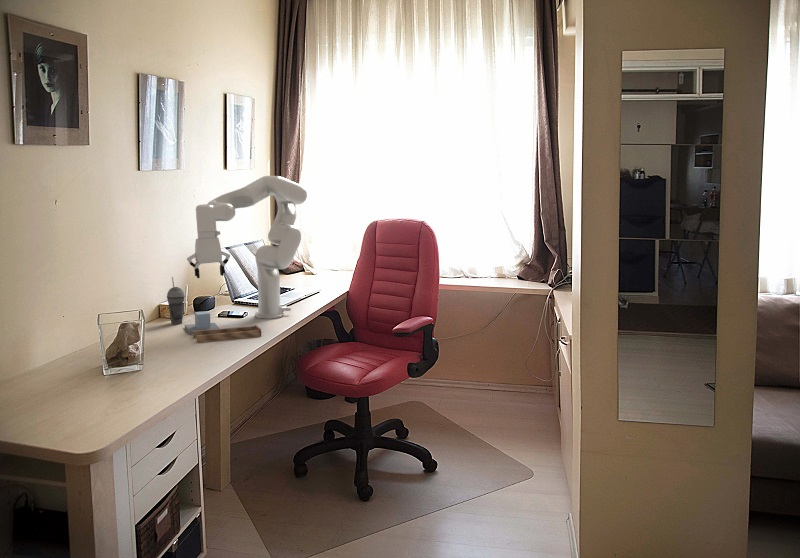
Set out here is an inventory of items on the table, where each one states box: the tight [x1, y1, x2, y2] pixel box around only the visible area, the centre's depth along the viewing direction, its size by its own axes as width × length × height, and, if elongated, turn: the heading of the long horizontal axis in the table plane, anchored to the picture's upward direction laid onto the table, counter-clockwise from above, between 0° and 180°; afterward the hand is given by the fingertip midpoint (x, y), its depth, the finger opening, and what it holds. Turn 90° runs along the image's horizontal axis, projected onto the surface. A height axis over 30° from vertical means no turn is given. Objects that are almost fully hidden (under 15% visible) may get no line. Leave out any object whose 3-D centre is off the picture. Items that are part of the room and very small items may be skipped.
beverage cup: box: [166, 276, 186, 326], centre depth 303 cm, size 7×7×20 cm
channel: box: [192, 324, 262, 343], centre depth 284 cm, size 25×8×3 cm, turn 115°
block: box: [194, 310, 211, 329], centre depth 294 cm, size 5×5×6 cm
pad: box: [184, 322, 221, 335], centre depth 295 cm, size 12×12×1 cm
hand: (210, 276), depth 295 cm, fingers open, 9 cm apart
